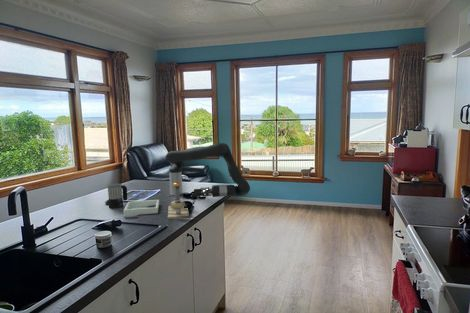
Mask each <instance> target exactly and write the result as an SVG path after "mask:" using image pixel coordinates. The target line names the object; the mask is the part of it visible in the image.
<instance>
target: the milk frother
mask: <svg viewBox="0 0 470 313" xmlns="http://www.w3.org/2000/svg"><path fill="white" fill-rule="evenodd" d="M106 187H107V193H108V194H107V195H108V197H107V198H108V200H106V201H105V202H104V204H105V205H107V206H108V208H109V209H119V208H123V207H124V201H127V200H128V188H127V186H126V185H124V184H122V183H111V184H108V185H106Z"/></svg>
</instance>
